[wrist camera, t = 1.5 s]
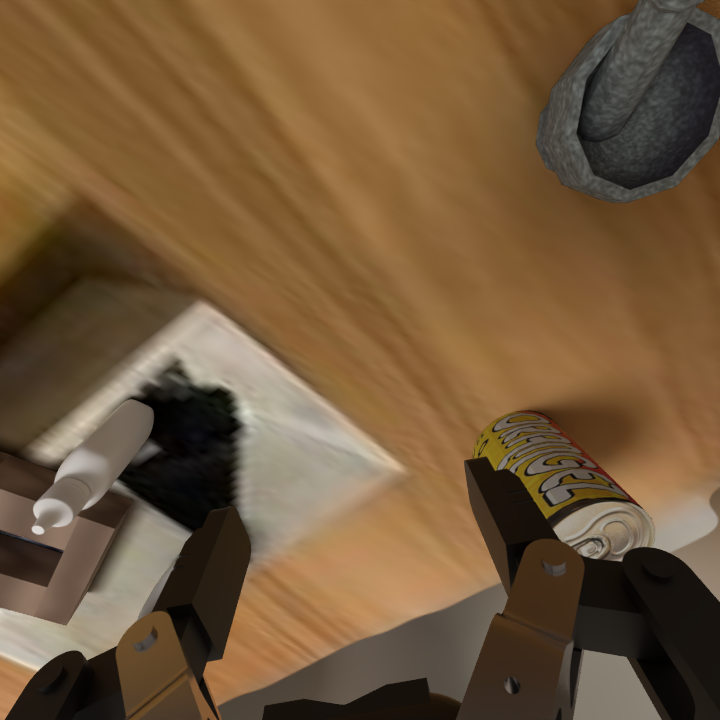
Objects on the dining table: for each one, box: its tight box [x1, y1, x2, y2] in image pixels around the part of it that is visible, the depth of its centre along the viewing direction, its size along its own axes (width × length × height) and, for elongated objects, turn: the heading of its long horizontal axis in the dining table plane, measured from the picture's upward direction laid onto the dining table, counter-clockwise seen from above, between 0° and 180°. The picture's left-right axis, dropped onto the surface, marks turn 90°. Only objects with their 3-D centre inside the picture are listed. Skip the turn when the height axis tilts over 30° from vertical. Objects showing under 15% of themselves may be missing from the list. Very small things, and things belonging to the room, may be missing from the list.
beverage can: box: [473, 411, 655, 561], centre depth 33 cm, size 9×9×12 cm
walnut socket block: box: [0, 451, 133, 625], centre depth 36 cm, size 14×14×4 cm
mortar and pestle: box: [536, 0, 720, 203], centre depth 22 cm, size 11×9×12 cm
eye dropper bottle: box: [32, 399, 154, 535], centre depth 29 cm, size 4×6×12 cm
